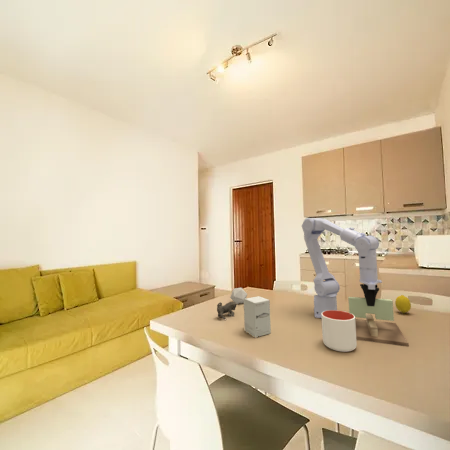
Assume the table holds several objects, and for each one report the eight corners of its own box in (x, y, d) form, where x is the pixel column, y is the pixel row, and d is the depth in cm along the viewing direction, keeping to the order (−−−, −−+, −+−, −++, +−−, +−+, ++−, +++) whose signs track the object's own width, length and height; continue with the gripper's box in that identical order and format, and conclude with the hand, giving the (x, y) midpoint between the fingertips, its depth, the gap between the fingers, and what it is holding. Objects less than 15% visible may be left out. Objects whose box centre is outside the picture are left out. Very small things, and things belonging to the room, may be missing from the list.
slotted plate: (349, 316, 91) (348, 298, 91) (349, 315, 93) (348, 296, 93) (393, 320, 85) (392, 301, 85) (392, 318, 87) (391, 299, 87)
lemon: (414, 315, 102) (413, 296, 102) (399, 315, 103) (398, 296, 103) (407, 311, 107) (406, 293, 108) (393, 311, 108) (392, 293, 109)
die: (243, 300, 136) (232, 287, 137) (252, 295, 131) (241, 281, 131) (236, 309, 130) (224, 295, 130) (245, 304, 124) (234, 290, 125)
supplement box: (255, 338, 86) (253, 302, 86) (244, 331, 92) (242, 298, 93) (271, 333, 89) (270, 299, 90) (259, 327, 96) (258, 295, 96)
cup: (355, 356, 71) (353, 322, 72) (320, 349, 76) (318, 317, 77) (357, 342, 80) (356, 312, 80) (325, 336, 85) (324, 308, 85)
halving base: (345, 337, 84) (344, 326, 84) (343, 320, 100) (343, 310, 100) (408, 346, 76) (407, 333, 76) (395, 325, 92) (395, 315, 92)
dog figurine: (222, 321, 103) (222, 304, 104) (213, 318, 108) (213, 301, 108) (241, 314, 112) (240, 298, 112) (232, 312, 116) (232, 296, 116)
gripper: (384, 271, 81) (387, 312, 81) (377, 265, 94) (379, 300, 94) (360, 270, 84) (363, 310, 84) (357, 265, 97) (359, 299, 97)
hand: (370, 304), depth 89 cm, fingers closed on slotted plate, 2 cm apart
